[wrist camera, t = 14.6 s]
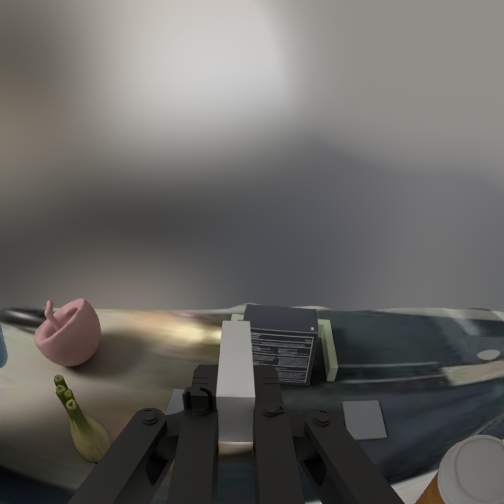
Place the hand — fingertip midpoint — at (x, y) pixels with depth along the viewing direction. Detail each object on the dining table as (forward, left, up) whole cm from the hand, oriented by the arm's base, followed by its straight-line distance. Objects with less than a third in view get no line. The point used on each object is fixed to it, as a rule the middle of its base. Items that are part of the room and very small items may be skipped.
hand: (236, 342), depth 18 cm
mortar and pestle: (-30, +19, -24) cm, 43 cm away
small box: (+3, +23, -24) cm, 33 cm away
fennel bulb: (-18, +3, -24) cm, 31 cm away
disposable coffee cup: (+23, -4, -24) cm, 34 cm away
